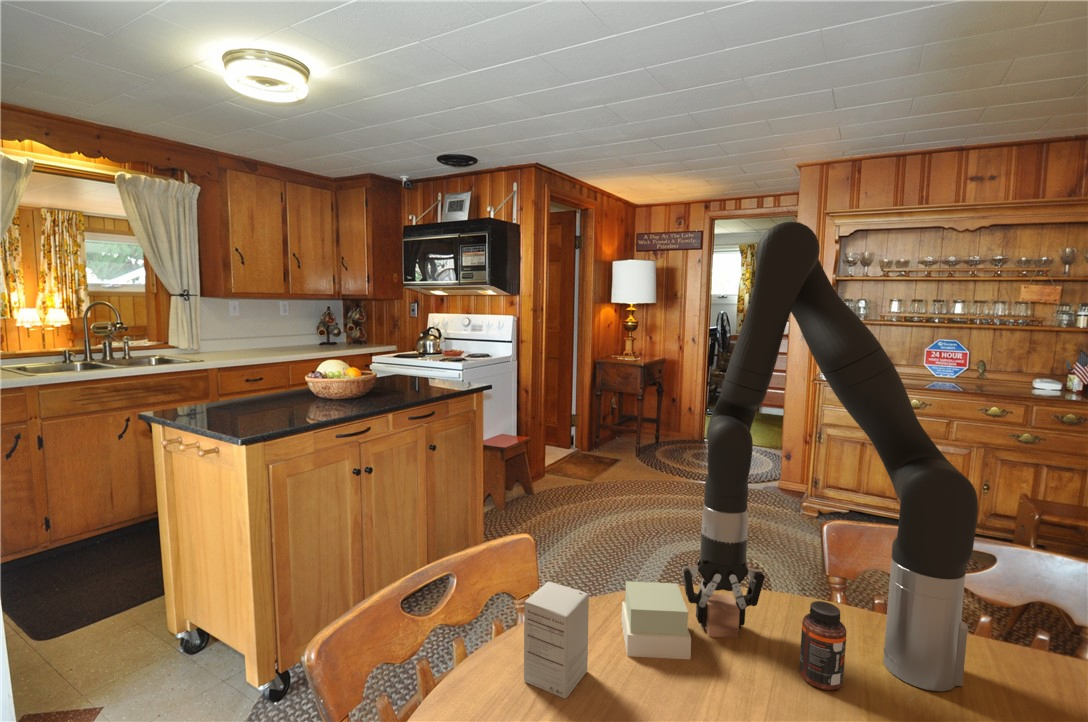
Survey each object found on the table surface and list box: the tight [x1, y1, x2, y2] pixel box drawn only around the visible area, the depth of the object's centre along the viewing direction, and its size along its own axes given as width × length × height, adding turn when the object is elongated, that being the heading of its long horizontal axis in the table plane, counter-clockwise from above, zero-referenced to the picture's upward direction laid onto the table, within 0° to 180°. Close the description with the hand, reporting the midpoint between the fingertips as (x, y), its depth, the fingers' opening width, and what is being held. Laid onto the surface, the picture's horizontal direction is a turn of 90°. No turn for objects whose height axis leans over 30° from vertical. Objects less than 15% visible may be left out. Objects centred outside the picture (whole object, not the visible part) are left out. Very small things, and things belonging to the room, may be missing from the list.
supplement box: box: [523, 581, 590, 699], centre depth 81 cm, size 7×7×13 cm
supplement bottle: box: [799, 600, 847, 691], centre depth 81 cm, size 6×6×11 cm
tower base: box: [621, 601, 692, 660], centre depth 91 cm, size 10×10×4 cm
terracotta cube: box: [704, 593, 740, 639], centre depth 94 cm, size 5×5×5 cm
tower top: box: [624, 580, 689, 636], centre depth 91 cm, size 9×9×4 cm
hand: (719, 624), depth 95 cm, fingers open, 5 cm apart
